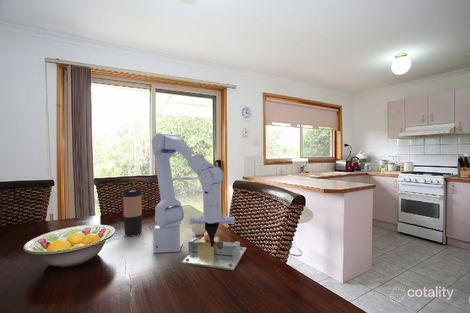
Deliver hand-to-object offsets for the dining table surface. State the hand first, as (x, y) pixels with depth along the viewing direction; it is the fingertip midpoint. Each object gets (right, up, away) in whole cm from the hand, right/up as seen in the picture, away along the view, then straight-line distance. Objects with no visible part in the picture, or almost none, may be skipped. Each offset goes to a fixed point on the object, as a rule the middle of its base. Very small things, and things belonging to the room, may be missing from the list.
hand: (212, 245), depth 75 cm
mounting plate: (+1, -6, +5) cm, 7 cm away
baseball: (-8, -6, +27) cm, 29 cm away
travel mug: (-40, -7, +30) cm, 50 cm away
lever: (0, 0, +3) cm, 3 cm away
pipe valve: (0, -5, +7) cm, 9 cm away
